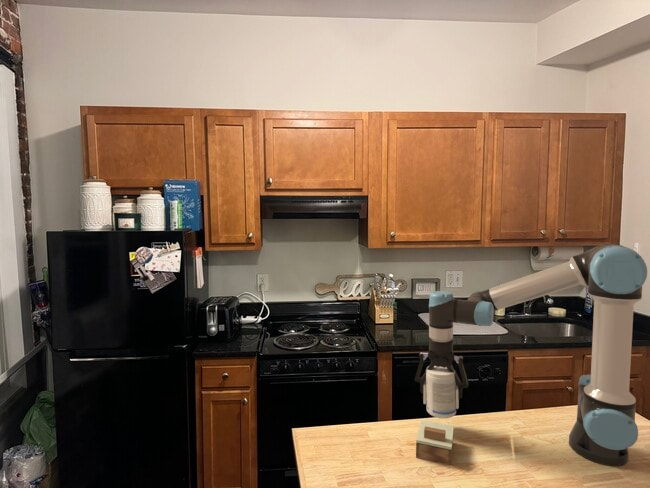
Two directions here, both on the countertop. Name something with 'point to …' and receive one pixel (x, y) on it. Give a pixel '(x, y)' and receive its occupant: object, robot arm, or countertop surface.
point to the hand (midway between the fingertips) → (440, 404)
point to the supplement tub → (440, 392)
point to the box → (434, 453)
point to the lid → (435, 434)
